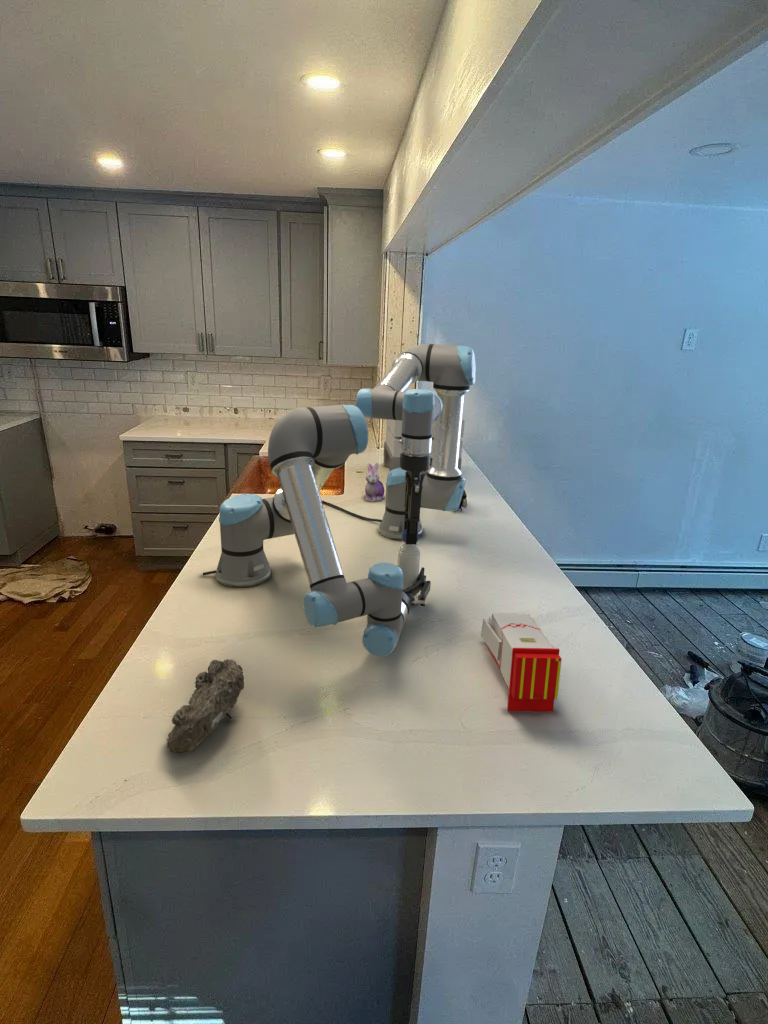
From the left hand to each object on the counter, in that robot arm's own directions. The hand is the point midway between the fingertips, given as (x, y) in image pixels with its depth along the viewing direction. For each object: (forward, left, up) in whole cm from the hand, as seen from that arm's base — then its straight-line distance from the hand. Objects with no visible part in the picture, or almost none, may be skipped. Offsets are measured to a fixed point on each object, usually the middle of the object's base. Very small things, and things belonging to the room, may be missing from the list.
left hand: (411, 570), depth 157 cm
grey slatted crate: (-19, +122, -7) cm, 123 cm away
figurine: (-30, +76, -7) cm, 82 cm away
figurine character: (+4, +77, -7) cm, 78 cm away
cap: (0, -5, +13) cm, 14 cm away
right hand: (0, -5, +11) cm, 12 cm away
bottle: (0, -5, -7) cm, 8 cm away
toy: (+29, -30, -7) cm, 42 cm away
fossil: (-27, -62, -7) cm, 67 cm away
